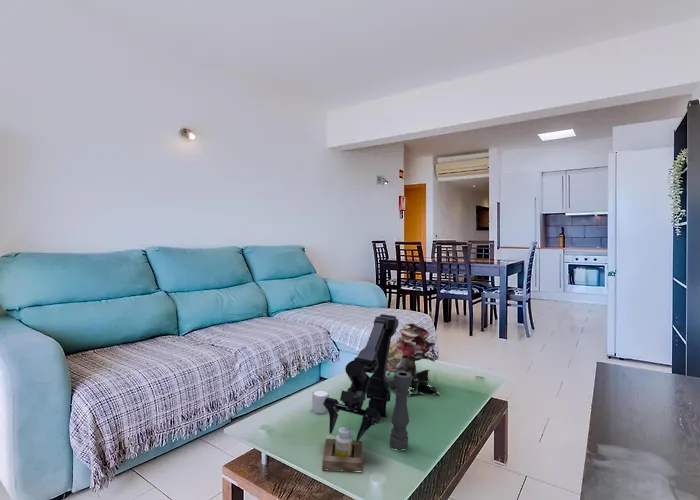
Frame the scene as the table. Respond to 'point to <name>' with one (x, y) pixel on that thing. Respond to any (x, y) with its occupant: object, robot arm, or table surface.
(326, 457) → the socket block
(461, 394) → the table surface
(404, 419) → the candle holder
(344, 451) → the supplement bottle
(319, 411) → the shot glass
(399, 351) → the rose bouquet
